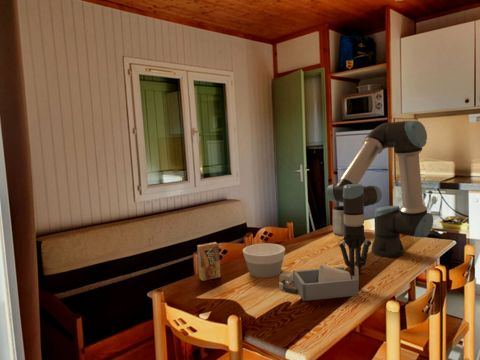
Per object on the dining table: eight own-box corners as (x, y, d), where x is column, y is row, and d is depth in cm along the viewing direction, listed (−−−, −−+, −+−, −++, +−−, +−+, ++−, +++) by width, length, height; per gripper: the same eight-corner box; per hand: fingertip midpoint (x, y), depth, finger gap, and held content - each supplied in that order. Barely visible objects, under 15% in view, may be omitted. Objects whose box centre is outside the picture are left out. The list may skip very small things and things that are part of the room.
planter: (333, 236, 228) (333, 210, 226) (332, 230, 244) (331, 205, 242) (362, 236, 225) (361, 210, 224) (358, 229, 241) (357, 205, 239)
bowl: (274, 282, 162) (273, 257, 161) (235, 276, 173) (234, 252, 172) (293, 268, 179) (292, 245, 177) (257, 263, 189) (255, 241, 188)
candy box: (217, 274, 176) (215, 241, 174) (221, 277, 172) (218, 243, 171) (199, 278, 172) (196, 245, 171) (202, 281, 169) (199, 247, 167)
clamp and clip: (292, 278, 166) (291, 270, 166) (298, 288, 155) (298, 280, 154) (274, 279, 166) (274, 272, 165) (280, 290, 154) (279, 282, 154)
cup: (354, 275, 146) (325, 272, 146) (349, 298, 149) (321, 295, 149) (348, 262, 156) (320, 259, 155) (343, 283, 159) (316, 280, 158)
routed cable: (290, 281, 163) (290, 277, 163) (298, 293, 150) (298, 289, 150) (278, 282, 162) (277, 279, 162) (284, 294, 150) (284, 291, 149)
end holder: (343, 280, 160) (343, 266, 160) (358, 295, 145) (358, 279, 144) (293, 285, 158) (293, 271, 158) (303, 300, 143) (302, 285, 142)
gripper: (365, 220, 154) (367, 278, 157) (334, 223, 153) (336, 281, 156) (374, 225, 147) (375, 284, 149) (341, 227, 146) (343, 288, 148)
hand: (355, 282), depth 152 cm, fingers closed
